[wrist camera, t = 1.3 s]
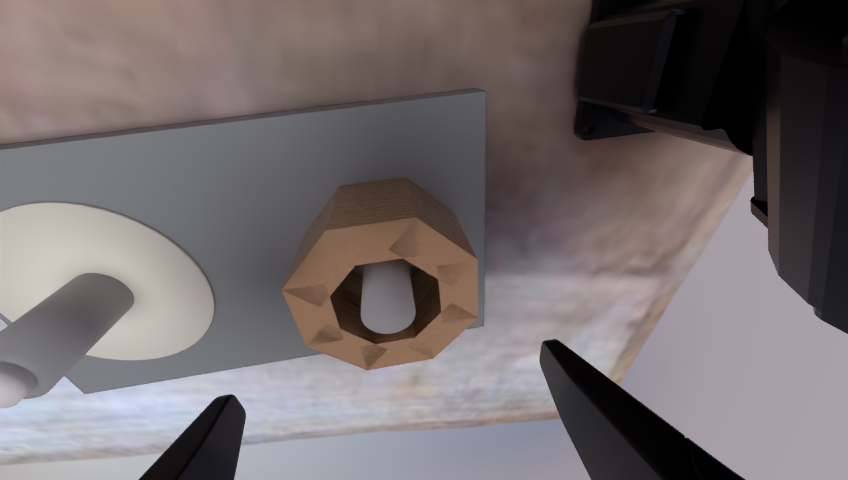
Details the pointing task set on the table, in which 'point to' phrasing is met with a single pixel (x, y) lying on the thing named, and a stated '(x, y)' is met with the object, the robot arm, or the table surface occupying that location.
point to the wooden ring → (375, 242)
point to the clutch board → (207, 236)
